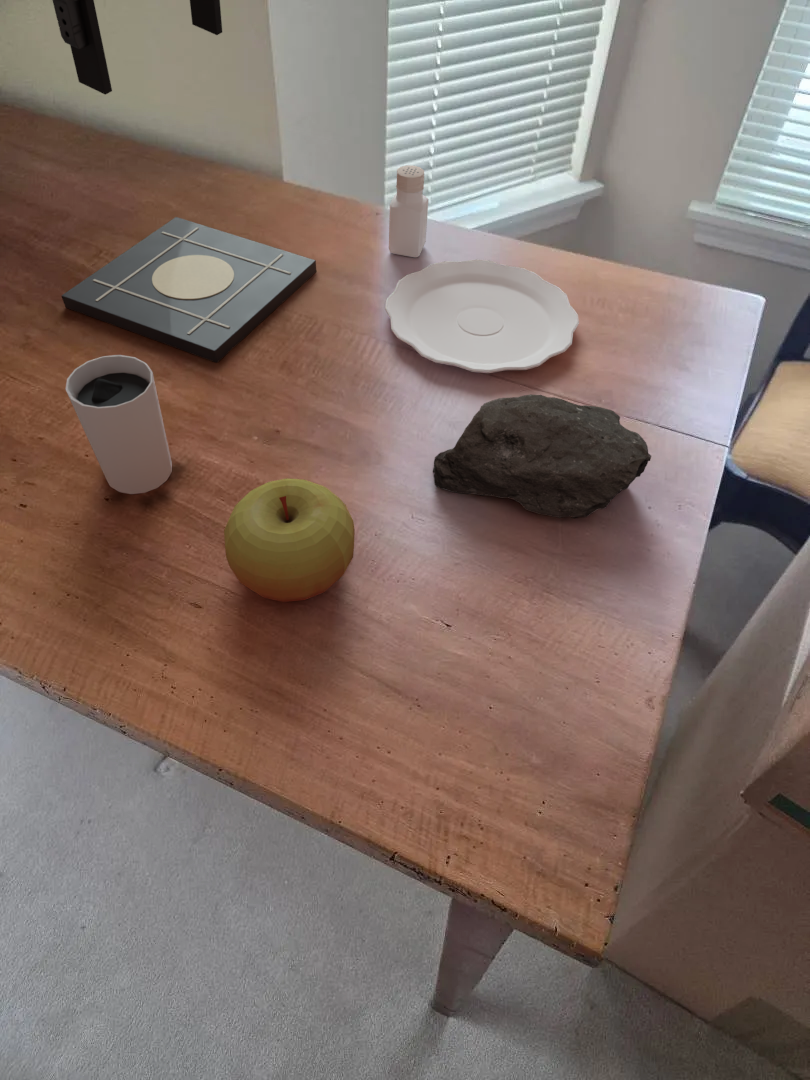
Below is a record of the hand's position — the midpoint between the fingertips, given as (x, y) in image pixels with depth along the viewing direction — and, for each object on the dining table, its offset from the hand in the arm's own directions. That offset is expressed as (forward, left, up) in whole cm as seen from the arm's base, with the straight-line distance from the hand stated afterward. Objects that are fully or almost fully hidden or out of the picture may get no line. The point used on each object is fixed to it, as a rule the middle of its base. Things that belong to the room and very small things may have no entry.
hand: (154, 56), depth 63 cm
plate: (+27, +14, -25) cm, 40 cm away
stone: (+41, -7, -25) cm, 49 cm away
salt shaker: (+13, +24, -25) cm, 37 cm away
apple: (+27, -25, -25) cm, 45 cm away
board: (-4, +4, -25) cm, 26 cm away
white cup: (+9, -22, -25) cm, 35 cm away
